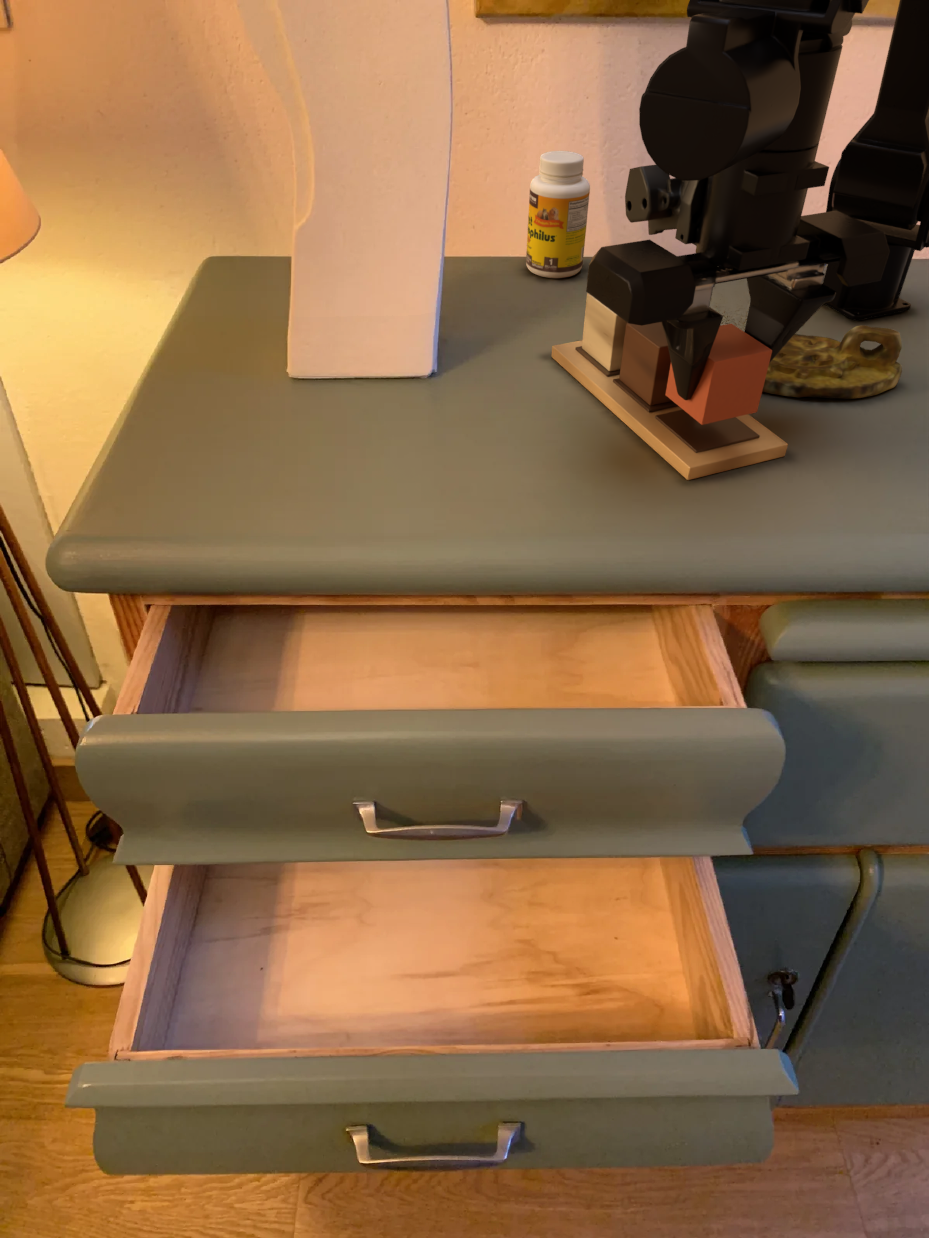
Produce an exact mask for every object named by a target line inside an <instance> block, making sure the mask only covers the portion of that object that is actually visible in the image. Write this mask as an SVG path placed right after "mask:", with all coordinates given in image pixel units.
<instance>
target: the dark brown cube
mask: <svg viewBox="0 0 929 1238" xmlns="http://www.w3.org/2000/svg"><path fill="white" fill-rule="evenodd" d="M670 365H671V359H670V354H669V349H668V345H667V340H666V336H665V333H664V330H663V327H662V324H661V322H658V323H653V324H647V325H642V326H641V325H635V324H629V323H626V331H625V338H624V346H623V354H622V361H621V369H620V377H619V379H620V380H621V381H622V382H623V383H624V384H625V385H626V386H628V387H629V388H630V389H631V390H632V391H634V392H635V393H636V394H637V395H638V396H639V397H641V398H642V399H643V400H644V401H645V402H647V403H648V404H649V405H656V404H661V403H665V402H670V401H672V400H671V399H669V398H668V397H667V396H666V395H665V394H666V389H667V383H668V377H669V371H670Z"/></svg>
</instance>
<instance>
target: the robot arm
mask: <svg viewBox="0 0 929 1238" xmlns="http://www.w3.org/2000/svg"><path fill="white" fill-rule="evenodd" d="M869 1H870V0H688V3H687V7H686V17H687V18H689V19H690V20H689V25H688V32H687V37H686V43H685V44H686V45H685V47H682V48H680V49H678V50H677V51H674V52H673V53H671V54H669V55H668V56H667V57H666V58H665V59H664V60H663V61H661V63H660V64H659V65H658V66H657V68H656V69H655V70H654V71H653V73H652V75H651V77H650V78H649V80H648V83H647V85H646V88H645V90H644V92H643V93H642V95H641V98H640V103H639V112H638V113H639V116H638V117H639V118H638V119H639V123H638V125H639V130H640V135H641V140H642V143H643V145H644V148H645V150H646V152H647V154H648V155H649V157H650V158H651V160H652V161H653V163H654V164H649V165H642V166H637V167H632V168H629V172H628V177H627V182H626V188H625V193H624V204H625V216H626V218H627V220H628V221H629V222H630V223H631V224H632V223H639V222H647V228H648V229H647V231H648V235H649V236H654V235H658V234H663V233H664V232H665V231H670V230H672V231H673V230H675V237H674V239H676V240H677V241H679V242H680V243H682V244H684V245H690V244H692V245H694V246H695V252H694V253H689V254H682V255H676V254H674V253H673V252H671V251H669V250H668V249H666V248H665V247H663V246H661V245H660V244H658V243H656V242H654V241H653V240H651V239H645V240H638V241H630V242H625V243H618V244H612V245H611V244H610V245H606V246H601V247H600V248H599V249H598V250H597V252H595V254H594V255H593V256H592V258H591V259H590V262H589V264H588V269H587V279H586V290H585V291H586V294H587V293H589V294H590V295H591V296H593V297H594V298H595V299H597V300H598V301H599V302H601V303H602V304H603V305H605V306H606V307H607V308H609V309H610V310H611V311H613V312H614V313H615V314H617V315H618V316H619V317H621V318H622V319H623V320H625V321H626V322H627V323H629V324H635V325H641V326H642V325H647V324H653V323H658V322H661V324H662V327H663V330H664V333H665V336H666V340H667V345H668V349H669V354H670V359H671V364H672V369H673V374H674V379H675V384H676V389H677V393H678V395H679V396H680V397H681V398H683V399H684V400H690V399H691V398H692V396H693V394H694V392H695V390H696V388H697V386H698V384H699V381H700V379H701V376H702V373H703V371H704V368H705V365H706V362H707V360H708V357H709V354H710V351H711V349H712V346H713V343H714V341H715V338H716V335H717V333H718V330H719V327H720V326H721V325H722V322H723V318H724V315H723V314H721V313H720V312H718V311H717V310H715V309H714V308H712V307H710V305H711V302H712V301H711V300H712V295H713V290H714V288H715V287H716V285H717V284H725V283H729V282H734V281H740V280H746V284H747V289H748V293H749V307H748V312H747V316H746V321H745V327H744V330H743V331H744V332H745V333H747V334H748V335H750V336H751V337H753V338H754V339H756V340H757V341H759V342H761V343H762V344H764V345H765V346H767V347H768V348H770V349H771V350H772V354H771V358H770V362H771V361H772V360H773V359H774V357H775V356H776V355H777V354H778V353H779V351H780V350H781V349H782V348H783V347H784V346H785V344H786V343H787V342H788V341H789V340H790V339H791V338H792V336H793V335H794V334H797V333H798V332H799V330H800V329H801V328H803V326H804V325H805V324H806V323H807V322H808V321H810V319H811V318H812V317H813V316H814V315H815V313H817V311H819V310H820V308H821V307H823V306H824V305H825V306H827V307H829V308H831V309H833V311H836V312H838V313H839V314H842V315H843V316H845V317H846V318H848V319H850V320H852V321H862V320H863V321H864V320H868V319H873V318H878V317H882V316H888V315H893V314H898V313H904V312H907V311H910V310H911V307H912V304H911V303H910V302H908V301H906V300H904V299H902V298H900V296H901V294H902V290H903V287H904V284H905V282H906V279H907V275H908V272H909V269H910V267H911V263H912V260H913V257H914V254H915V252H916V251H917V252H921V251H923V250H924V248H926V249H927V248H929V0H899V2H898V7H897V12H896V15H895V20H894V24H893V29H892V34H891V37H890V42H889V47H888V51H887V55H886V59H885V64H884V69H883V73H882V77H881V82H880V85H879V86H880V87H879V89H878V95H877V98H876V104H875V108H874V111H873V113H872V115H871V116H870V117H869V118H868V119H867V120H866V122H865V123H864V124H863V125H862V127H860V129H859V130H858V131H857V132H856V134H854V136H853V137H852V138H851V139H850V141H849V142H848V143H847V144H846V146H845V147H844V148H843V150H842V151H841V156H840V158H839V160H838V162H837V164H836V166H835V167H834V170H833V173H832V177H831V178H830V182H829V183H830V184H829V188H828V196H827V201H826V202H827V203H826V210H825V211H824V212H818V213H811V214H806V215H805V214H804V215H803V210H804V206H805V203H806V199H807V194H808V190H809V189H812V188H813V189H814V188H819V187H825V185H826V181H827V179H828V178H827V177H828V174H829V170H830V166H828V165H826V164H823V163H821V162H819V161H816V157H817V153H818V149H819V145H820V140H821V136H822V132H823V129H824V125H825V124H824V123H825V120H826V116H827V113H828V107H829V104H830V100H831V96H832V91H833V87H834V84H835V80H836V75H837V70H838V67H839V63H840V58H841V55H842V52H843V51H842V50H843V43H844V37H846V36H848V35H849V34H850V32H851V30H852V27H853V18H854V16H855V15H856V14H860V15H861V14H863V13H864V11H865V10H866V7H867V5H868V3H869ZM671 177H672V178H671ZM918 223H919V224H918ZM825 267H826V269H825ZM824 270H825V273H824ZM770 362H769V363H770Z"/></svg>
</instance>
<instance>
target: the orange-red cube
mask: <svg viewBox="0 0 929 1238" xmlns="http://www.w3.org/2000/svg"><path fill="white" fill-rule="evenodd" d="M744 331H745V330H742V329H741V328H740V327H737V326H736V325H734V324H733V323H726V324H720V327H719V330H718V333H717V335H716V338H715V341H714V343H713V346H712V349H711V351H710V354H709V357H708V360H707V362H706V365H705V368H704V371H703V373H702V376H701V379H700V381H699V384H698V386H697V388H696V390H695V392H694V394H693V396H692V398H691V399H690V400H684V399H683V398H681V397H680V396H679V395H678V393H677V389H676V384H675V379H674V374H673V369H672V364H671V365H670V371H669V377H668V383H667V389H666V394H665V395H666V396H667V397H668V398H669V399H671V400H672V401H673V402H674V403H676V404H677V405H678V406H679V407H681V408H682V409H683V410H684V411H685V412H687V413H688V414H689V415H690V416H692V417H693V418H694V419H695V420H696V421H698V422H699V423H700V424H701V425H704V424H708V423H712V422H717V421H721V420H725V419H730V418H734V417H738V416H743V415H747V414H749V415H751V414H755V413H757V412H758V410H759V405H760V401H761V398H762V395H763V391H762V390H763V386H764V382H765V378H766V374H767V370H768V366H769V362H770V358H771V354H772V350H771V349H770V348H768V347H767V346H765V345H764V344H762V343H761V342H759V341H757V340H756V339H754V338H753V337H751V336H750V335H748V334H747V333H745V332H744Z"/></svg>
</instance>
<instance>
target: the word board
mask: <svg viewBox="0 0 929 1238" xmlns="http://www.w3.org/2000/svg"><path fill="white" fill-rule="evenodd" d="M626 323H627V322H626V321H625V320H623V319H622V318H621V317H619V316H618V315H617V314H615V313H614V312H613V311H611V310H610V309H609V308H607V307H606V306H605V305H603V304H602V303H601V302H599V301H598V300H597V299H595V298H594V297H593V296H591V295H590V294H589V293H587V292H586V302H585V312H584V320H583V330H582V331H583V332H582V339H581V340H577V341H571V342H566V343H559V344H555V345H552V346H551V358H552V359H553V360H554V361H555V362H557V363H558V365H560V366H561V367H562V368H563V369H564V370H565V371H566V372H567V373H568V374H570V375H571V376H572V377H573V378H574V379H575V380H576V381H577V382H579V384H581V385H582V387H584V388H585V389H586V390H587V391H588V392H589V393H591V394H592V396H594V397H595V398H596V399H597V400H598V401H599V402H601V403H602V405H604V406H605V407H606V408H607V409H608V410H610V412H611V413H613V414H614V415H615V416H616V417H617V418H618V419H619V420H621V421H622V422H623V423H624V424H625V425H626V426H627V427H628V428H629V429H630V430H632V432H634V433H635V434H636V435H637V436H638V437H639V438H640V439H641V440H643V442H645V443H646V444H647V445H648V446H649V447H650V448H651V449H652V450H654V451H655V452H656V453H657V454H658V455H659V456H660V457H661V458H662V459H663V460H665V461H666V462H667V464H669V465H670V466H671V467H672V468H674V470H676V471H677V472H678V473H679V474H680V475H681V476H682V477H684V478H685V480H686V481H691V480H694V479H699V478H703V477H706V476H711V475H715V474H718V473H723V472H726V471H730V470H734V469H738V468H743V467H747V466H750V465H751V466H752V465H755V464H759V463H763V462H766V461H767V462H768V461H771V460H776V459H779V458H783V457H785V456H786V454H787V450H788V446H789V443H787V442H786V441H784V440H783V439H782V438H780V436H778V435H777V434H775V433H774V432H773V431H771V430H770V429H769V428H767V427H766V426H765V425H764V424H762V423H761V422H759V421H758V420H757V419H755V417H753V416H752V415H751V414H747V415H743V416H738V417H734V418H730V419H725V420H721V421H717V422H712V423H708V424H704V425H701V424H700V423H699V422H698V421H696V420H695V419H694V418H693V417H692V416H690V415H689V414H688V413H687V412H685V411H684V410H683V409H682V408H681V407H679V406H678V405H677V404H676V403H674V402H673V401H670V402H665V403H661V404H656V405H649V404H648V403H647V402H645V401H644V400H643V399H642V398H641V397H639V396H638V395H637V394H636V393H635V392H634V391H632V390H631V389H630V388H629V387H628V386H626V385H625V384H624V383H623V382H622V381H621V380H620V379H619V377H620V369H621V361H622V354H623V346H624V338H625V331H626Z"/></svg>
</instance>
